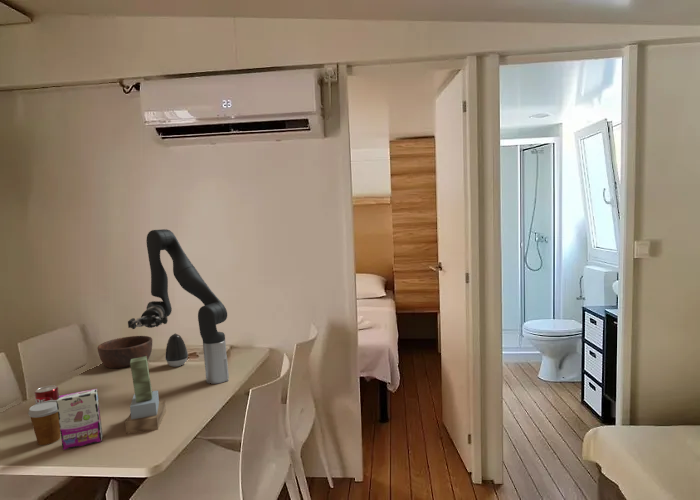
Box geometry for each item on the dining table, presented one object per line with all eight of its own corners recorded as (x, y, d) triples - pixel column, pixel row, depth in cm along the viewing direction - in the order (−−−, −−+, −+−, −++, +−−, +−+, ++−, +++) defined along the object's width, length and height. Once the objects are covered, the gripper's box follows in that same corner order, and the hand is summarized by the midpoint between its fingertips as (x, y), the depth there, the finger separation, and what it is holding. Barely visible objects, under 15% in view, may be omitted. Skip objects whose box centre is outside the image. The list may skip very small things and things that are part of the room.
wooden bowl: (164, 357, 245) (162, 338, 244) (118, 373, 224) (116, 352, 223) (135, 352, 258) (133, 333, 257) (89, 366, 237) (86, 346, 236)
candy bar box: (103, 435, 159) (97, 387, 158) (101, 442, 155) (96, 392, 153) (64, 444, 155) (58, 394, 154) (62, 450, 150) (56, 400, 149)
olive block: (152, 394, 170) (146, 356, 169) (152, 399, 165) (145, 359, 164) (137, 397, 168) (131, 359, 167) (136, 402, 164) (130, 362, 162)
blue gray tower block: (159, 402, 175) (158, 390, 174) (156, 415, 163) (155, 402, 163) (135, 406, 172) (134, 394, 172) (131, 419, 161) (129, 406, 161)
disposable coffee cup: (35, 438, 161) (30, 403, 160) (67, 431, 164) (63, 397, 163) (28, 450, 152) (24, 414, 151) (63, 443, 156) (59, 407, 155)
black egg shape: (188, 360, 238) (186, 330, 236) (188, 366, 228) (185, 335, 226) (166, 363, 235) (163, 333, 233) (165, 370, 225) (162, 338, 223)
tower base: (166, 412, 176) (165, 400, 176) (158, 430, 162) (156, 417, 161) (137, 416, 174) (136, 404, 174) (126, 435, 160) (125, 422, 159)
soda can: (50, 425, 170) (46, 392, 169) (33, 424, 172) (29, 392, 170) (66, 416, 177) (62, 385, 176) (49, 415, 179) (45, 384, 178)
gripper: (133, 309, 199) (124, 317, 183) (169, 306, 202) (163, 313, 186) (135, 327, 200) (126, 337, 184) (171, 323, 203) (165, 332, 187)
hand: (144, 325), depth 185 cm, fingers open, 8 cm apart
